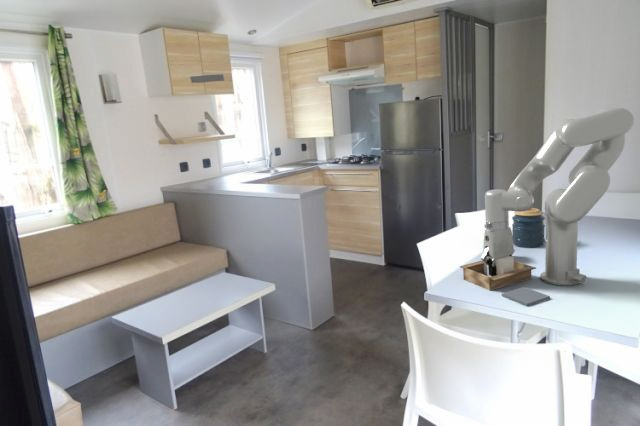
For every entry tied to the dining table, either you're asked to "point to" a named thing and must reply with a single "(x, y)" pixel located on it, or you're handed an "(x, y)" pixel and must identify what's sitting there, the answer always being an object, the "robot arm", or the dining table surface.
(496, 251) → the robot arm
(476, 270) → the wooden tray
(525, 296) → the pad
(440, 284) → the dining table surface
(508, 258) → the box
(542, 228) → the canister
